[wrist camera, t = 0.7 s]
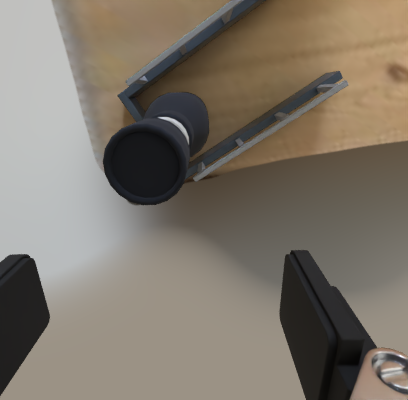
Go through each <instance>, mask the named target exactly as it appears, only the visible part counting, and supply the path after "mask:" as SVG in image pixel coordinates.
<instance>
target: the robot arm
mask: <svg viewBox="0 0 408 400" xmlns="http://www.w3.org/2000/svg"><path fill="white" fill-rule="evenodd" d="M49 319H50V314H49V310H48V307H47V303H46V300H45V296H44V292H43V289H42V286H41V281H40V278H39V274H38V271H37V267H36V264H35V261H34V259H32V258H30V256H29V255H27V254H18V255H9V256H7V257H6V258H5V259H4V260H3V261H1V262H0V396H1V394H2V393H3V391H4V390H5V388H6V387H7V385H8V384H9V382H10V381H11V379H12V378H13V376H14V375H15V373H16V372H17V370H18V369H19V367H20V366H21V364H22V363H23V361H24V360H25V358H26V357H27V355H28V353H29V352H30V351H31V349H32V348H33V346H34V345H35V343H36V342H37V340H38V339H39V337H40V336H41V334H42V333H43V331H44V330H45V328H46V327H47V325H48V323H49ZM280 321H281V324H282V327H283V330H284V334H285V337H286V340H287V343H288V345H289V349H290V352H291V355H292V358H293V361H294V364H295V367H296V370H297V373H298V376H299V379H300V382H301V385H302V388H303V392H304V395H305V398H306V400H408V356H407V355H405V354H403V353H402V352H399V351H396V350H393V349H389V348H377V347H376V345H375V344H374V342H373V341H372V339H371V338H370V336H369V335H368V333H367V332H366V330H365V329H364V327H363V326H362V324H361V323H360V321H359V320H358V318H357V317H356V315H355V314H354V312H353V311H352V309H351V308H350V306H349V305H348V303H347V302H346V300H345V299H344V297H343V296H342V294H341V293H340V291H339V290H338V289H337V288H336V287H334V286H330V284H329V283H328V281H327V279H326V278H325V277H324V275H323V273H322V272H321V270H320V269H319V267H318V266H317V264H316V262H315V261H314V259H313V258H312V256H311V255H310V253H309V252H308V251H307V250H295V251H293V250H292V251H291V252H290V254H287V255H286V256H285V263H284V273H283V283H282V293H281V303H280Z"/></svg>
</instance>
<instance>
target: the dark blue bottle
mask: <svg viewBox="0 0 408 400" xmlns="http://www.w3.org/2000/svg"><path fill="white" fill-rule="evenodd" d="M208 134H209V119H208V113H207V109H206V106H205V104H204V103H203V102H202V100H201V99H200V98H199V97H197V96H196V95H194V94H191V93H167V94H165V95H162V96H159V97H158V98H157V99H156V100H154V101H153V102H152V103H151V104H150V106H149V108H148V109H147V111H146V113H145V116H144V119H143V120H141V121H138V122H136V123H133V124H131V125H129V126H126V127H124V128H122V129H121V130H119V131H118V132H117V133H116V134H115V135H114V136H112V137H111V139H110V141H109V143H108V144H107V146H106V148H105V152H104V158H103V165H104V171H105V175H106V177H107V179H108V181H109V183H110V185H111V186H112V187H113V189H114V190H115V191H116V192H117V193H118V194H119V195H120V196H122V197H124V198H125V199H127V200H128V201H130V202H133V203H137V204H141V205H156V204H159V203H162V202H165V201H167V200H169V199H170V198H171V197H173V196H174V195H175V194H177V192H178V191H179V190H180V188H181V187H182V185H183V184H184V181H185V177H186V173H187V169H188V165H189V160H190V157H192V156H193V155H195V154H196V153H197V152H199V151H200V150H201V148H202V147H203V146H204V144H205V143H206V140H207V137H208Z"/></svg>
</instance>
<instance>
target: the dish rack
mask: <svg viewBox="0 0 408 400" xmlns="http://www.w3.org/2000/svg"><path fill="white" fill-rule="evenodd" d="M264 1H266V0H231V1H230V2H229V3H227V4H226V5H225V6H223V7H222V8H221V9H219V10H218V11H217V12H215V13H214V14H213V15H212V16H210V17H209V18H208V19H206V20H205V21H204V22H202V23H201V24H200V25H198V26H197V27H196V28H194V29H193V30H192V31H191V32H189V33H188V34H187V35H185V36H184V37H183V38H181V39H180V40H179V41H177V42H176V43H175V44H174V45H172V46H171V47H170V48H168V49H167V50H166V51H164V52H163V53H162V54H160V55H159V56H158V57H157V58H155V59H154V60H153V61H151V62H150V63H149V64H147V65H146V66H145V67H143V68H142V69H141V70H139V71H138V72H137V73H136V74H134V75H133V76H132V77H130V78H129V79H128V80H126V83H127V85H128V86H129V87H128V88H127V89H125V90H124V91H123V92H121V93H120V94H119V95H118V97H119V98H120V100H121V101H122V103H123V104H124V105H125V107H126V108H127V110H128V111H129V112H130V114H131V115H132V117H133V118H134V119H135V121H136V122H138V121H141V120H143V119H144V116H145V113H146V112H145V111H144V109H143V108H142V107H141V105H140V104H139V102H138V101H137V99H136V98H135V97H136V96H138V95H139V94H140V93H142V92H143V91H144V90H146V89H147V88H148V87H150V86H151V85H153V84H154V83H155V82H157V81H158V80H159V79H161V78H162V77H163V76H165V75H166V74H167V73H169V72H170V71H171V70H173V69H174V68H175V67H177V66H178V65H179V64H181V63H182V62H183V61H185V60H186V59H187V58H189V57H190V56H192V55H193V54H194V53H196V52H197V51H198V50H200V49H201V48H202V47H204V46H205V45H206V44H208V43H209V42H210V41H212V40H213V39H214V38H216V37H217V36H218V35H220V34H221V33H222V32H224V31H225V30H227V29H228V28H229V27H231V26H232V25H233V24H235V23H236V22H237V21H239V20H240V19H241V18H243V17H244V16H245V15H247V14H248V13H249V12H251V11H252V10H253V9H255V8H256V7H257V6H259V5H260V4H262V3H263V2H264ZM342 78H343V77H342V75H341V73H340V71H336V72H330V73H326V74H324V75H323V76H321V77H320V78H318V79H317V80H315V81H314V82H312V83H311V84H309V85H308V86H306V87H304V88H303V89H301V90H300V91H298V92H297V93H295V94H294V95H292V96H291V97H289V98H288V99H286V100H285V101H283V102H282V103H280V104H278V105H277V106H275V107H274V108H272V109H271V110H269V111H268V112H266V113H265V114H263V115H262V116H260V117H259V118H257V119H256V120H254V121H253V122H251V123H249V124H248V125H246V126H245V127H243V128H242V129H240V130H239V131H237V132H236V133H234V134H233V135H231V136H230V137H228V138H227V139H225V140H223V141H222V142H220V143H219V144H217V145H216V146H214V147H213V148H211V149H210V150H208V151H207V152H205V153H204V154H202V155H201V156H199V157H198V158H196V159H194V160H193V161H191V162H190V163H189V165H188V169H187V173H186V177H185V179H187V178H188V177H190V176H191V175H193V174H194V173H196V172H197V175H196V176H194V177H193V179H194V180H195V182H197V181H198V180H200V179H201V178H203V177H204V176H206V175H208V174H209V173H211V172H212V171H214V170H216V169H217V168H219V167H220V166H222V165H223V164H225V163H227V162H228V161H230V160H231V159H233V158H234V157H236V156H238V155H239V154H241V153H242V152H244V151H245V150H247V149H249V148H250V147H252V146H253V145H255V144H256V143H258V142H260V141H261V140H263V139H264V138H266V137H267V136H269V135H271V134H272V133H274V132H275V131H277V130H278V129H280V128H282V127H283V126H285V125H286V124H288V123H290V122H291V121H293V120H294V119H296V118H297V117H299V116H301V115H302V114H304V113H305V112H307V111H308V110H310V109H312V108H313V107H315V106H316V105H318V104H319V103H321V102H323V101H324V100H326V99H327V98H329V97H330V96H332V95H334V94H335V93H337V92H338V91H340V90H341V89H343V88H345V87H346V86H348V82H347V80H344V81H342V82H341V83H339V84H334V83H336V82H338V81H339V80H341V79H342ZM320 92H325V93H324V94H322V95H320V96H319V97H317V98H316V99H314V100H313V101H311V102H310V103H308V104H306V105H305V106H303V107H302V108H300V109H299V110H297V111H295V112H294V113H292V114H291V115H288V113H289V112H291V111H292V110H294V109H296V108H297V107H299V106H300V105H302V104H303V103H305V102H306V101H308V100H310V99H311V98H313V97H314V96H316V95H317V94H319V93H320ZM277 120H280V122H278V123H277V124H275V125H274V126H272V127H271V128H269V129H267V130H266V131H264V132H263V133H261V134H260V135H258V136H256V137H255V138H253V139H252V140H250V141H249V142H247V143H246V144H244V143H243V142H244V141H246V140H247V139H249V138H250V137H252V136H254V135H255V134H257V133H258V132H260V131H261V130H263V129H264V128H266V127H268V126H269V125H271V124H272V123H274V122H275V121H277ZM236 146H239V148H238V149H236V150H235V151H233V152H231V153H230V154H228V155H227V156H225V157H224V158H222V159H221V160H219V161H217V162H216V163H214V164H213V165H211V166H210V167H208V168H207V169H205V166H207V165H208V164H210V163H212V162H213V161H215V160H216V159H218V158H219V157H221V156H222V155H224V154H226V153H227V152H229V151H230V150H232V149H233V148H235V147H236Z"/></svg>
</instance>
